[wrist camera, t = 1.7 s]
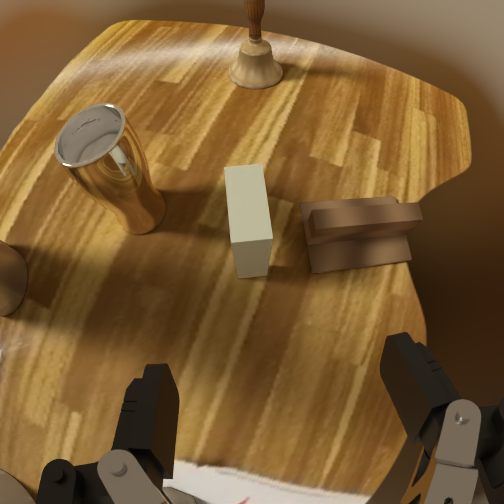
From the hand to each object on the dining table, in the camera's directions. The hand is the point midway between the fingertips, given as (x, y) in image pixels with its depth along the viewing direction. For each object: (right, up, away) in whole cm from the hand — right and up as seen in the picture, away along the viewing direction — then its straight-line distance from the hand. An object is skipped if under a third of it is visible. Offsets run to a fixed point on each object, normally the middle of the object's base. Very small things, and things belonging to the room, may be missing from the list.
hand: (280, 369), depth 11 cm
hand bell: (0, +31, +32) cm, 45 cm away
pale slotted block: (-1, +5, +23) cm, 24 cm away
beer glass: (-14, +9, +25) cm, 30 cm away
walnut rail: (+11, +6, +24) cm, 27 cm away
